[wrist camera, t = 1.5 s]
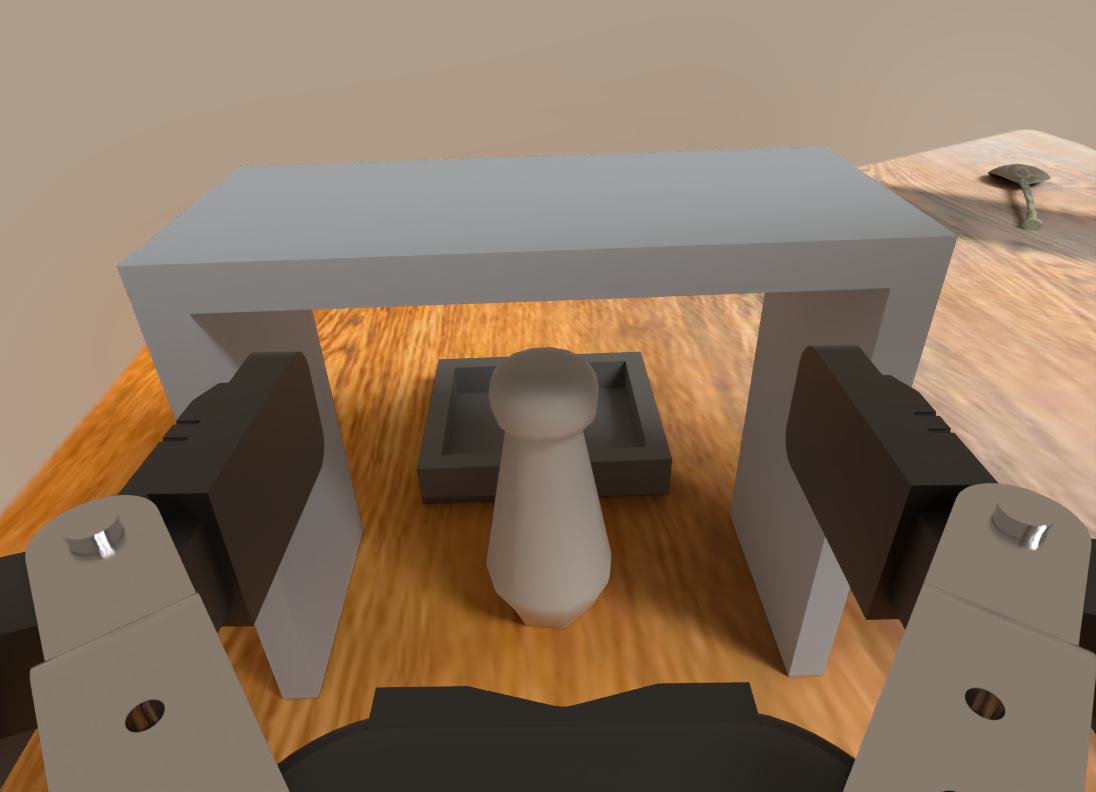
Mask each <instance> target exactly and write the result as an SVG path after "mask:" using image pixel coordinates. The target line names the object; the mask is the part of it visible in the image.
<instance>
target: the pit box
mask: <svg viewBox="0 0 1096 792" xmlns="http://www.w3.org/2000/svg"><path fill="white" fill-rule="evenodd" d="M576 355H579V356H581V357H582V358H584V359H585V360H586V361H588V363H589V364H590V365H591V367H592V368H593V369H594V371H595V372H596V375H597V380H598V386H599V390H598V402H597V411H596V416H595V418H594V420H593V422H592V423H591V424H589V425H588V426H587V427H586V428H585V429H584V430H583V433H584V437H585V442H586V446H587V450H588V455H589V459H590V463H591V467H592V472H593V476H594V480H595V485H596V489H597V493H598V496H622V495H646V494H669V486H670V475H671V464H672V457H671V454H670V451H669V447H668V444H667V440H666V437H665V434H664V430H663V427H662V423H661V420H660V416H659V413H658V410H657V406H656V403H655V399H654V396H653V392H652V389H651V386H650V382H649V379H648V375H647V372H646V368H645V365H644V362H643V358H642V355H641V352H622V353H595V354H576ZM507 358H508V357H490V358H464V359H439V360H438V365H437V370H436V376H435V381H434V386H433V391H432V396H431V401H430V406H429V411H428V417H427V422H426V427H425V432H424V437H423V442H422V447H421V452H420V457H419V463H418V468H417V471H418V477H419V483H420V490H421V496H422V502H423V504H426V503H451V502H475V501H495V498H496V491H497V484H498V477H499V470H500V463H501V456H502V449H503V442H504V435H505V430H503V429H501V428H500V427H499V425H498V423H497V421H496V419H495V416H494V414H493V412H492V410H491V408H490V402H489V395H488V394H489V386H490V379H491V377H492V375H493V372H494V370H495V368H496V367H497V366H498V365H499V364H501V363H502V362H503V361H504V360H506V359H507Z"/></svg>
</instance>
